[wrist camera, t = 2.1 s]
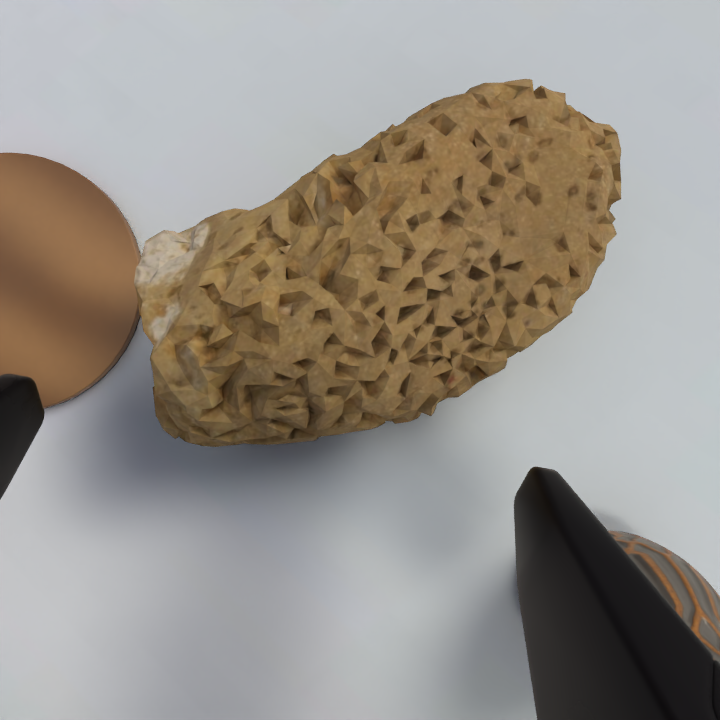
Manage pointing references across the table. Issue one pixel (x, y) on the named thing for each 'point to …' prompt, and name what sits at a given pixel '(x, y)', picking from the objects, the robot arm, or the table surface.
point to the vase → (678, 587)
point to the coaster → (62, 277)
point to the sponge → (381, 272)
